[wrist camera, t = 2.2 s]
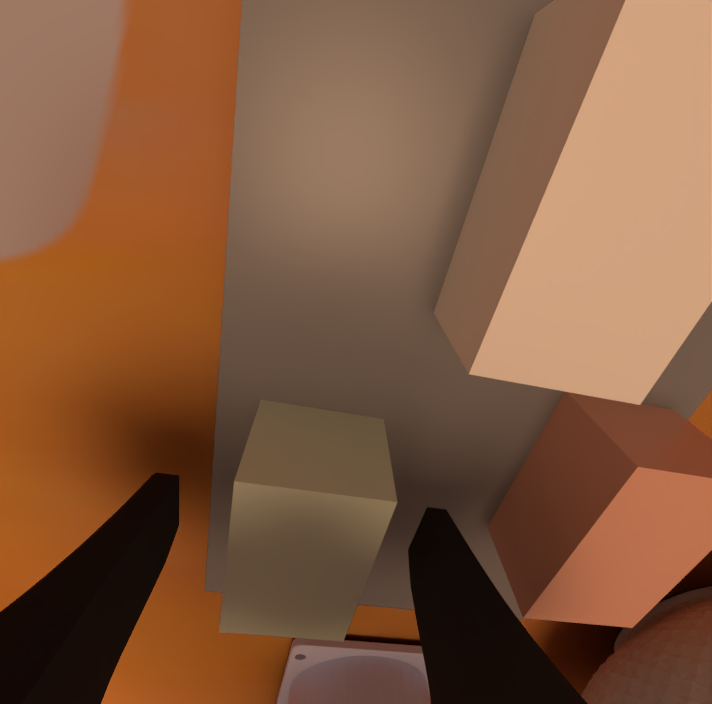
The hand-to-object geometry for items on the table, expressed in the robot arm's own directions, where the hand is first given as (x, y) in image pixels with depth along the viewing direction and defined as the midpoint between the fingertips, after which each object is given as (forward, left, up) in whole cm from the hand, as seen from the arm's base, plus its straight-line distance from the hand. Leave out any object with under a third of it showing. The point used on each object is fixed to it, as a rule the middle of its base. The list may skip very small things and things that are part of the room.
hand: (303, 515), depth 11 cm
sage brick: (0, 0, -1) cm, 1 cm away
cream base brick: (+9, -4, -1) cm, 10 cm away
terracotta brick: (+2, -9, -1) cm, 9 cm away
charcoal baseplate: (+3, -4, -2) cm, 6 cm away
